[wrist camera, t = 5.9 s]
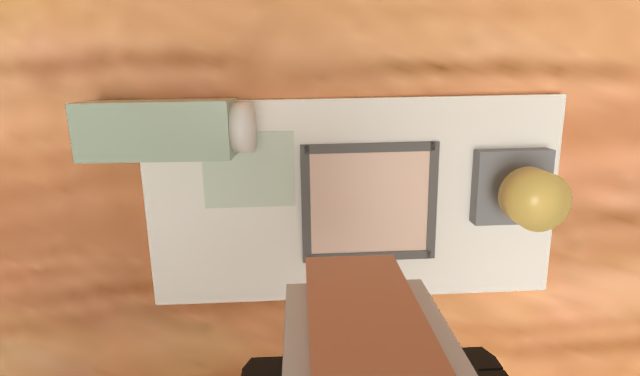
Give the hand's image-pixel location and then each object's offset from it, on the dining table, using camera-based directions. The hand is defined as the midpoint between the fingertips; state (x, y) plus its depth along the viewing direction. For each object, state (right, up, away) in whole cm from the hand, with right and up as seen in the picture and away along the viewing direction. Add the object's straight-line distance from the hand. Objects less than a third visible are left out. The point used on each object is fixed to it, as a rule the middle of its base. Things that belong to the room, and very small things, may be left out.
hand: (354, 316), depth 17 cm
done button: (+12, +4, +12) cm, 18 cm away
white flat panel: (+1, +4, +16) cm, 16 cm away
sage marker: (-11, +9, +13) cm, 19 cm away
